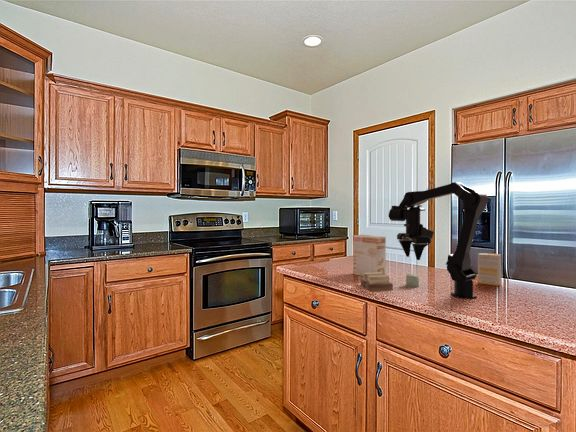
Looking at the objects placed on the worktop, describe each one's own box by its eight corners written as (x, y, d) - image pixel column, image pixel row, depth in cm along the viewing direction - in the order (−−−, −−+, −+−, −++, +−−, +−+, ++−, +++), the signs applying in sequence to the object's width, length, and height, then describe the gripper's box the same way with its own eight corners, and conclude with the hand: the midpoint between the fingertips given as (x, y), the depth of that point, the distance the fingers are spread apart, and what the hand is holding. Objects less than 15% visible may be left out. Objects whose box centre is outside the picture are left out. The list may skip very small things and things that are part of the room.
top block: (389, 283, 137) (389, 276, 137) (370, 284, 136) (370, 276, 136) (381, 279, 145) (381, 272, 145) (363, 279, 144) (363, 272, 144)
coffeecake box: (386, 277, 159) (386, 236, 158) (376, 279, 155) (376, 237, 154) (362, 272, 171) (362, 234, 171) (352, 274, 167) (352, 235, 167)
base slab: (392, 291, 136) (392, 284, 136) (369, 292, 135) (369, 284, 135) (382, 285, 146) (382, 278, 146) (360, 286, 145) (360, 279, 145)
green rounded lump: (420, 287, 140) (421, 276, 140) (409, 287, 140) (409, 276, 140) (415, 284, 145) (415, 274, 145) (404, 284, 145) (404, 274, 145)
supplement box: (501, 284, 144) (502, 254, 143) (499, 286, 140) (499, 255, 140) (480, 281, 149) (480, 252, 149) (477, 283, 146) (477, 253, 145)
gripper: (443, 222, 133) (443, 261, 134) (420, 220, 152) (419, 254, 152) (416, 222, 132) (416, 262, 133) (396, 220, 151) (396, 255, 151)
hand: (412, 258), depth 142 cm, fingers open, 9 cm apart
